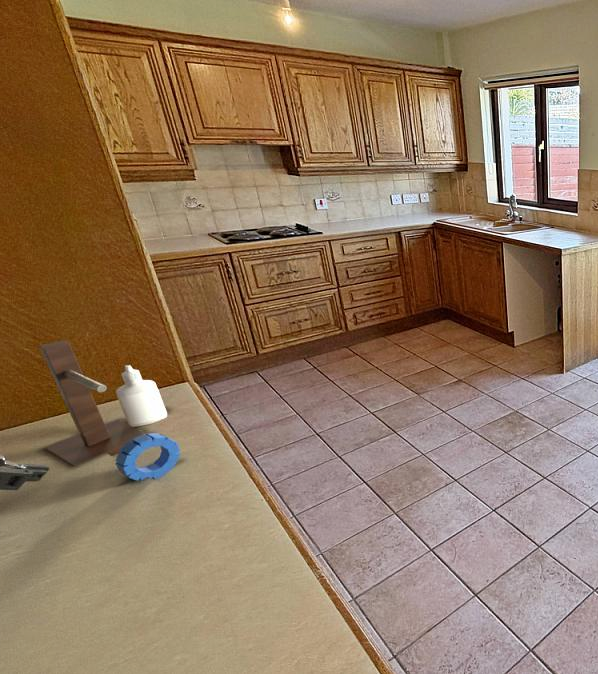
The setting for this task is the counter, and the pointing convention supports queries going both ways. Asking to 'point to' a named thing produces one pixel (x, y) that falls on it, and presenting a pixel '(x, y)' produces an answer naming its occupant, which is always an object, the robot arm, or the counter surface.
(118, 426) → the hook stand
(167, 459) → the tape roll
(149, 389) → the eye dropper bottle
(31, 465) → the robot arm
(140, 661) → the counter surface
